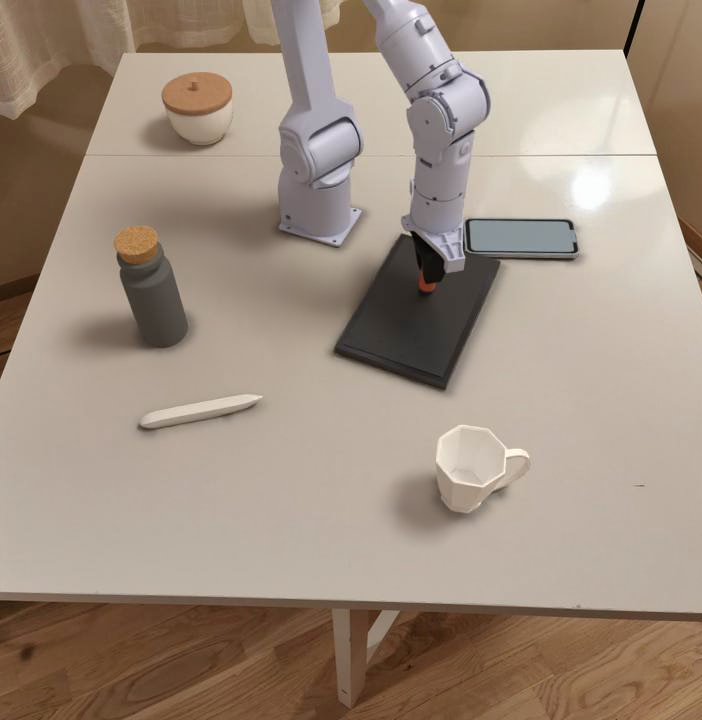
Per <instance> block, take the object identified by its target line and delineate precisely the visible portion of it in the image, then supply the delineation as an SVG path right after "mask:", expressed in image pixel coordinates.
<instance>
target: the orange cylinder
mask: <svg viewBox="0 0 702 720" xmlns="http://www.w3.org/2000/svg"><path fill="white" fill-rule="evenodd" d="M434 289H435V283H432V284H425V281H424V278H423V273H422V268H421V275H420V282H419V292H420V293H422V294H424V295H430V294H432V293H433V292H434Z"/></svg>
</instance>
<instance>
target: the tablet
mask: <svg viewBox="0 0 702 720" xmlns="http://www.w3.org/2000/svg"><path fill="white" fill-rule="evenodd" d="M463 253H464V256H465V263H464V269H463V270H462V271H457V272H450V273H445V275H444V277H443V279H442V281H441V282H438V283H435V289H434V292H433V293H432V294H430V295H424V294H422V293H420V292H419V282H420V275H421V270H420V269H419V267H418V264H417V260H416V253H415V247H414V242H413V238H412V235H411V234H406V233H403V232H400V234H399V236H398V238H397V240H396V242H395V243H394V245H393V247H392V248H391V250H390V252H389V253H388V255H387V256H386V259H385V260H384V262H383V264H382V265H381V267H380V269H379V271H378V272H377V274H376V275H375V277H374V279H373V281H372V283H371V284H370V286H369V288H368V290H367V291H366V293H365V295H364V297H363V298H362V299H361V302H360V303H359V304H358V306H357V308H356V310H355V311H354V313H353V314H352V317H351V319H350V320H349V322H348V324H347V326H346V327H345V329H344V331H342V334H341V336H340V338H339V340H338V341H337V342H336V344H335V346H334V354H336V355H339V356H340V357H341V356H342V357H344V358H348V359H350V360H353V361H356V362H358V363H361V364H365V365H368V366H371V367H374V368H377V369H380V370H382V371H385V372H389V373H392V374H394V375H398V376H400V377H404V378H406V379H409V380H412V381H415V382H418V383H421V384H423V385H427V386H430V387H433V388H435V389H439V390H442V391H444V392H445V391H447V388H448V386H449V385H450V381H451V379H452V377H453V375H454V374H455V373H454V372H455V370H456V369H457V366H458V363H459V361H460V358H461V356H462V354H463V352H464V350H465V347H466V345H467V343H468V340H469V339H470V336H471V334H472V331H473V329H474V327H475V325H476V322H477V320H478V318H479V315H480V313H481V311H482V308H483V306H484V304H485V302H486V299H487V297H488V295H489V292H490V290H491V288H492V286H493V284H494V281H495V279H496V277H497V274H498V273H499V270H500V267H501V262H502V261H501V260H498V259H495V258H492V257H484V256H481V255H477V254H474V253H470V252H467V251H465V250H464V252H463Z"/></svg>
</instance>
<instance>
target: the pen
mask: <svg viewBox="0 0 702 720" xmlns="http://www.w3.org/2000/svg"><path fill="white" fill-rule="evenodd" d="M263 398H264V396H262V395H258V394H252V393H251V394H249V393H248V394H247V393H246V394H245V393H244V394H238V395H237V394H236V395H232V396H226V397H221V398H216V399H210V400H205V401H200V402H195V403H194V402H193V403H190V404H184V405H179V406H174V407H173V406H172V407H170V408H163V409H159V410H155V411H152V412H149V413H147V414H145V415H144V416H143V417H142V418H141V420H140V421H139V425H140V426H141V427H144V428H146V429H159V428H164V427H169V426H175V425H180V424H186V423H190V422H197V421H202V420H207V419H211V418H215V417H219V416H224V415H227V414H228V415H229V414H232V413H235V412H239V411H242V410H245V409H247V408H250V407H252V406H254V405H255V404H257V403H258V402H260V401H261V400H262V399H263Z"/></svg>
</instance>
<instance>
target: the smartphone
mask: <svg viewBox="0 0 702 720" xmlns="http://www.w3.org/2000/svg"><path fill="white" fill-rule="evenodd" d="M578 239H579V238H578V235H577V230H576V226H575V222H574V221H573V220H572V219H569V218H553V217H551V218H549V217H547V218H546V217H545V218H543V217H542V218H541V217H539V218H535V217H534V218H533V217H467V218H465V219H463V240H464V242H465V249H464V251H467V252H470V253H474V254H477V255H481V256H484V257H488V258H524V259H525V258H531V259H533V258H534V259H536V258H538V259H575V258H577V257H578V256H579V254H580V251H581V249H580V244H579V240H578Z"/></svg>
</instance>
